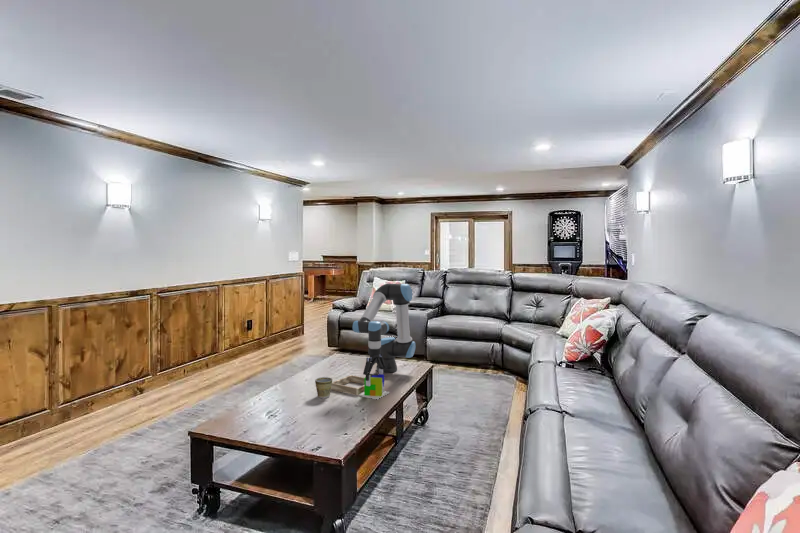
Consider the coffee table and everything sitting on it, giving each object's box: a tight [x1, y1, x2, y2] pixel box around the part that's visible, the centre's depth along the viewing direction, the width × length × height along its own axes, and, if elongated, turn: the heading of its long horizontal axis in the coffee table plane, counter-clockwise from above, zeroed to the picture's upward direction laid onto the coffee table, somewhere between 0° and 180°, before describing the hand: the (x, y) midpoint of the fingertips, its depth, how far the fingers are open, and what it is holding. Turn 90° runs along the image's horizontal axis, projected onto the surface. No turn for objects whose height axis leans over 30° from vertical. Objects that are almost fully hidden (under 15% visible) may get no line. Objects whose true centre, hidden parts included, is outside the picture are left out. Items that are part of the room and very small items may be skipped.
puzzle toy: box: [363, 373, 385, 396], centre depth 258 cm, size 10×10×10 cm
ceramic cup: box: [314, 376, 333, 399], centre depth 256 cm, size 13×10×10 cm
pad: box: [358, 390, 390, 400], centre depth 258 cm, size 13×13×1 cm
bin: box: [331, 374, 365, 396], centre depth 271 cm, size 21×21×4 cm
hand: (374, 382), depth 258 cm, fingers open, 13 cm apart
